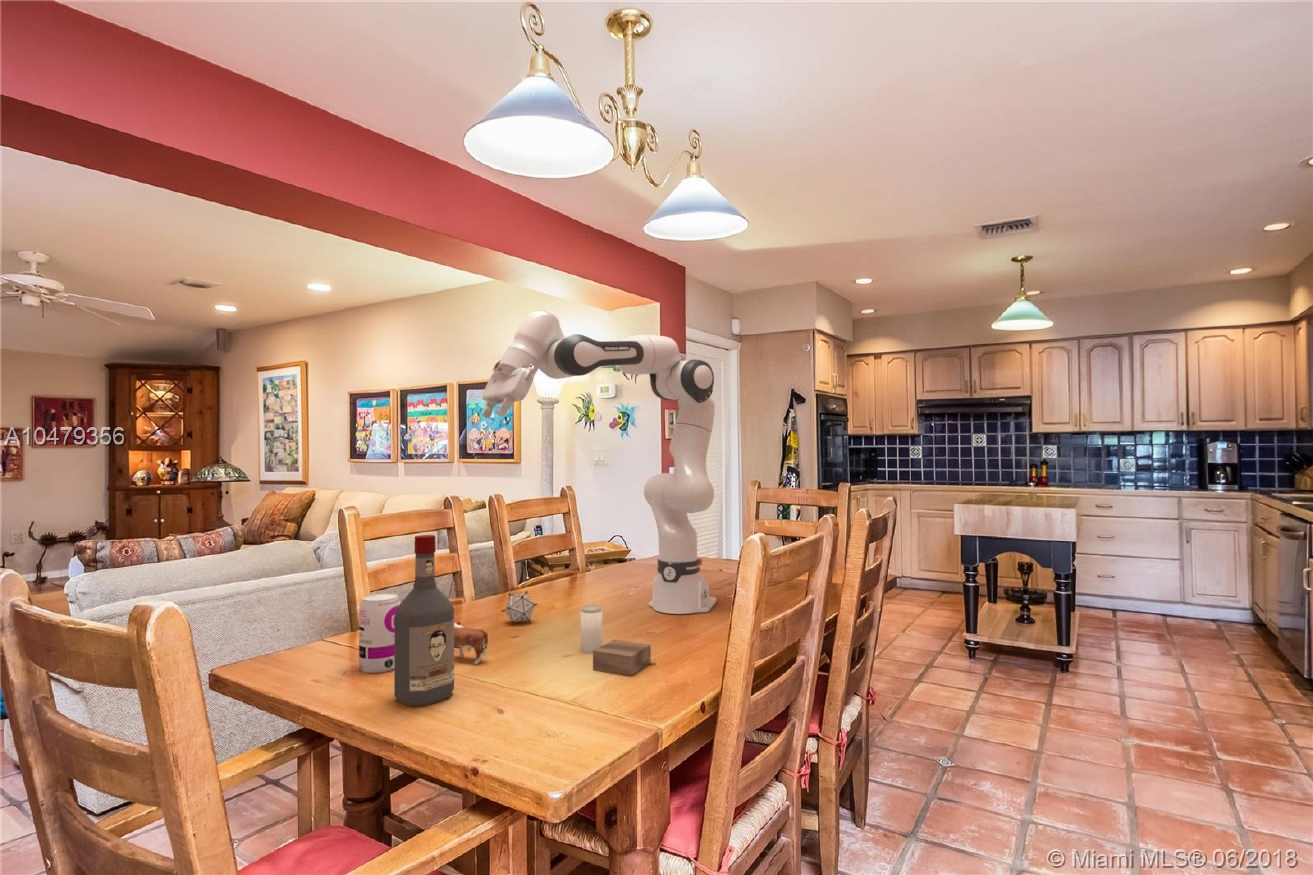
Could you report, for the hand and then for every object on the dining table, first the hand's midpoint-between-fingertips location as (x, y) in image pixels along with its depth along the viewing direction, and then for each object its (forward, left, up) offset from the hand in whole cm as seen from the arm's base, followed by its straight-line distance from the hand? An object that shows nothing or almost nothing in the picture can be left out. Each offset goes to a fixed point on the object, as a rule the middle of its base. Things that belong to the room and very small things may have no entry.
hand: (492, 416), depth 159 cm
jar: (-5, +25, -54) cm, 60 cm away
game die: (-17, -5, -55) cm, 57 cm away
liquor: (+33, +12, -55) cm, 65 cm away
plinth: (+2, +37, -54) cm, 66 cm away
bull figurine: (+13, +3, -55) cm, 56 cm away
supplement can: (+25, -9, -55) cm, 61 cm away
